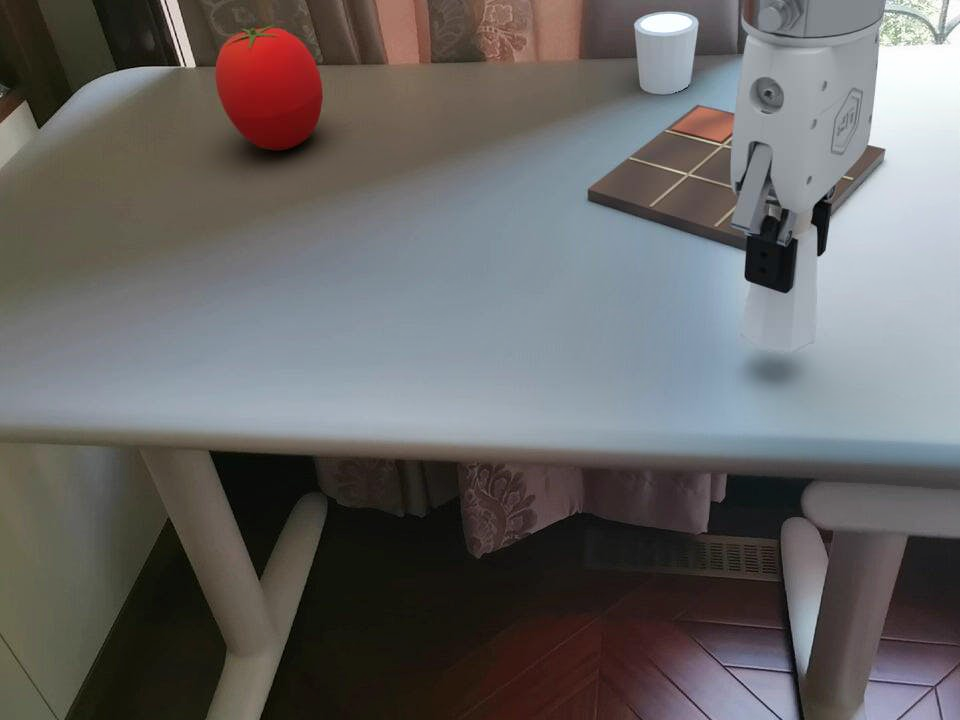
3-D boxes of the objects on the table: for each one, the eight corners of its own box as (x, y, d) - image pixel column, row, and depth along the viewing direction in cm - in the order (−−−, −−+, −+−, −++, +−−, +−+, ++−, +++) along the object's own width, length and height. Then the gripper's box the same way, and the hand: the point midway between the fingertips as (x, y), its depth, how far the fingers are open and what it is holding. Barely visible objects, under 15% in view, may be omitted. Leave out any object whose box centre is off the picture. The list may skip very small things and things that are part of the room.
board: (883, 160, 91) (886, 146, 90) (785, 263, 80) (787, 249, 79) (696, 114, 101) (697, 102, 100) (587, 200, 91) (587, 187, 90)
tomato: (346, 148, 104) (322, 33, 95) (250, 178, 101) (216, 61, 92) (315, 111, 112) (289, 1, 104) (225, 137, 109) (191, 26, 101)
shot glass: (630, 96, 106) (630, 35, 102) (637, 70, 111) (637, 10, 107) (693, 97, 105) (696, 34, 100) (698, 70, 110) (700, 9, 105)
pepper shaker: (795, 365, 65) (812, 228, 58) (724, 338, 68) (732, 205, 61) (832, 323, 68) (852, 187, 61) (761, 298, 71) (773, 166, 64)
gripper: (809, 66, 46) (778, 355, 58) (941, -49, 55) (891, 222, 67) (672, 41, 50) (670, 315, 62) (816, -62, 59) (790, 195, 71)
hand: (785, 264), depth 64 cm, fingers closed on pepper shaker, 4 cm apart
